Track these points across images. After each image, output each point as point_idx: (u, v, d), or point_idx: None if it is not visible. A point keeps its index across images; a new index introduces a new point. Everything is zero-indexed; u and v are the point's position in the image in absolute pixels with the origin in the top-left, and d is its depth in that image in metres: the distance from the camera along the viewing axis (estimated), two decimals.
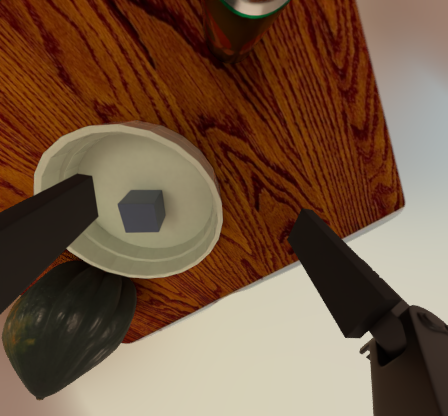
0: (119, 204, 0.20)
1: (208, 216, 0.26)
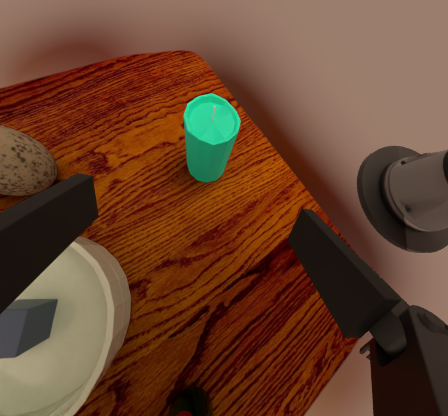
0: (27, 311, 0.17)
1: None
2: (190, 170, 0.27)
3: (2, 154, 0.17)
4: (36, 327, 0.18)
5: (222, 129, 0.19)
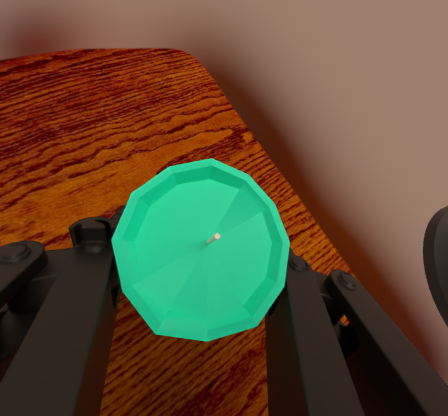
0: None
1: None
2: None
3: None
4: None
5: (237, 269, 0.06)
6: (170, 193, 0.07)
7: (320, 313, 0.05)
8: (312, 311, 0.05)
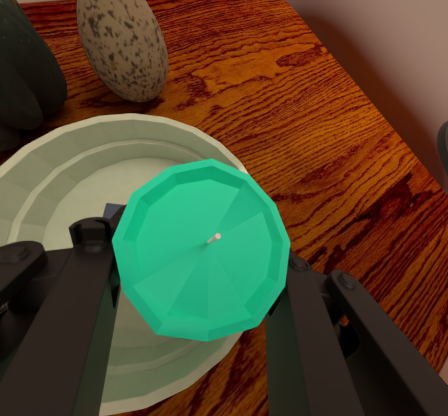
0: None
1: None
2: None
3: (146, 21, 0.14)
4: None
5: (237, 269, 0.06)
6: (170, 193, 0.07)
7: (320, 313, 0.05)
8: (312, 311, 0.05)
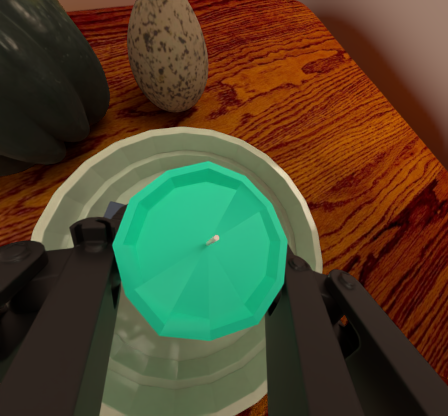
0: None
1: (148, 351, 0.14)
2: None
3: (196, 35, 0.14)
4: None
5: (236, 269, 0.06)
6: (168, 197, 0.07)
7: (320, 313, 0.05)
8: (312, 311, 0.05)
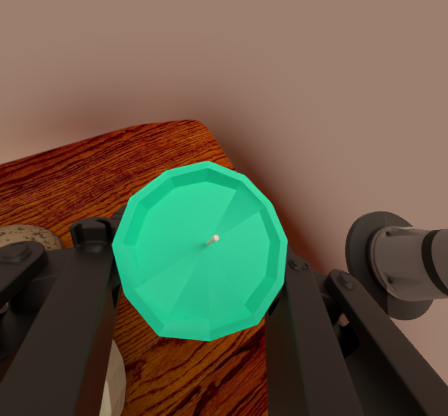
0: None
1: None
2: None
3: None
4: None
5: (236, 269, 0.06)
6: (168, 196, 0.07)
7: (319, 313, 0.05)
8: (311, 311, 0.05)
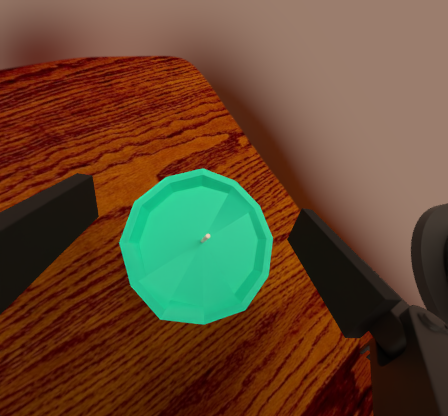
0: None
1: None
2: None
3: None
4: None
5: (227, 263, 0.07)
6: (167, 200, 0.08)
7: None
8: None
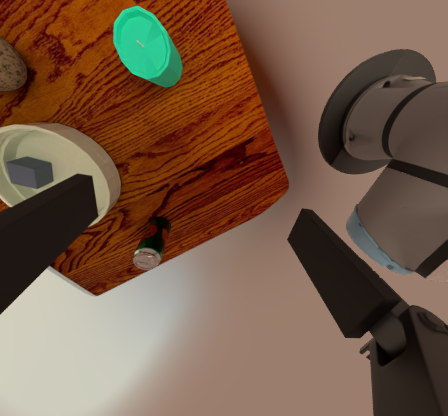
0: (34, 170, 0.31)
1: None
2: None
3: None
4: (43, 177, 0.33)
5: (154, 58, 0.20)
6: (127, 23, 0.19)
7: None
8: None
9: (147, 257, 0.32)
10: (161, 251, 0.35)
